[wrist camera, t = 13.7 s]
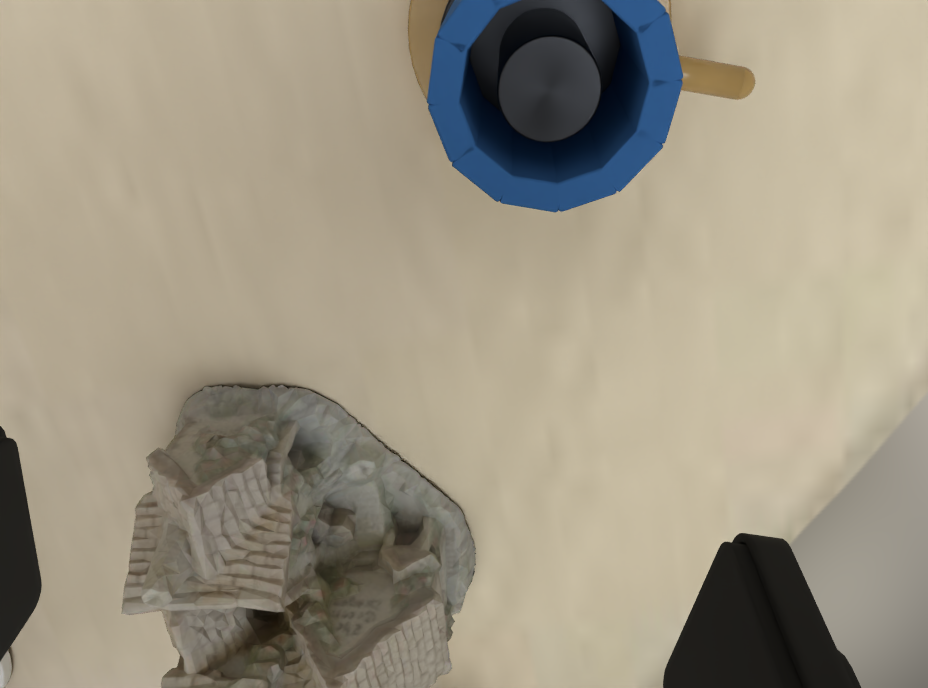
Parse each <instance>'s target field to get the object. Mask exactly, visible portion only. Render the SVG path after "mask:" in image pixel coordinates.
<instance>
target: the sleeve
mask: <svg viewBox="0 0 928 688" xmlns="http://www.w3.org/2000/svg"><path fill="white" fill-rule="evenodd" d="M518 1H520V0H455V1H454V2H453V3H452V5H451V7H450V9H449V11H448V13H447V15H446V17H445V19H444V21H443V23H442V25H441V27H440V29H439V31H438V34H437V36H436V38H435V42H434V49H433V57H432V65H431V73H430V80H429V88H428V96H427V103H428V104H429V105H428V109H429V111H430V114H431V116H432V119H433V121H434V124H435V126H436V129H437V131H438V134H439V136H440V139H441V141H442V144H443V146H444V149H445V151H446V154H447V156H448V159H449V160H450V161H451V162H453V163H452V166H453V167H454V168H455V169H457V170H458V171H459V172H460V173H462V174H463V175H464V176H465V177H467V178H468V179H469V180H470V181H472V182H473V183H474V184H475V185H477V186H478V187H479V188H480V189H482V190H483V191H484V192H485V193H487V194H488V195H489V196H490V197H492V198H493V199H494V200H495V201H497V202H498V201H499V200H500V202H501V203H503V204H509V205H515V206H521V207H527V208H533V209H539V210H545V211H551V212H557V211H558V210H559V211H565V210H568V209H571V208H574V207H577V206H580V205H583V204H586V203H589V202H592V201H595V200H598V199H601V198H604V197H607V196H610V195H613V194H615V193H616V191H619V192H620V191H621V190H622V189H623V188H624V187H625V186H626V185H627V184H628V183H629V182H630V181H631V180H632V179H633V178H634V177H635V176H636V175H637V174H638V172H639V171H640V170H641V169H642V168H643V167H644V166H645V165H646V164H647V163H648V162H649V161H650V160H651V159H652V158H653V157H654V156H655V155H656V154H657V153H658V152H659V151H660V150H661V149H662V148H663V145H662V144H663V143H665V141H666V138H667V135H668V132H669V128H670V125H671V121H672V118H673V115H674V111H675V108H676V105H677V101H678V98H679V94H680V91H681V88H682V84H683V81H682V80H681V79H682V78H683V72H682V68H681V64H680V59H679V55H678V51H677V46H676V42H675V38H674V33H673V29H672V25H671V21H670V16H669V14H668V13H667V12H666V9H665V7H664V6H663V5H662V4H661V3H660V2H659V1H658V0H602V1H603V2H604V3H605V4H606V5H607V6H608V7H609V8H610V9H611V10H612V14H613V18H614V22H615V25H616V29H617V33H618V37H619V40H620V44H621V45H620V49H619V53H618V57H617V61H616V65H615V69H614V73H613V77H612V81H611V84H610V85H609V86H608V88H607V89H606V90H605V91H604V92H603V93H602V95H601V100H600V103H599V106H598V109H597V111H596V113H595V115H594V116H593V118H592V119H591V121H590V122H589V123H588V124H587V125H586V126H585V127H584V128H583V129H582V130H581V131H580V132H578V133H577V134H575V135H573V136H572V137H570V138H567V139H565V140H561V141H558V142H548V143H545V142H537V141H533V140H530V139H527V138H525V137H523V136H522V135H520V134H519V133H517V132H516V131H515V130H514V129H513V128H512V127H511V126H510V125H509V124H508V123H507V121H506V120H505V118H504V117H503V115H502V112H501V111H499V110H498V109H497V108H496V107H495V106H493V105H492V104H491V103H490V102H489V101H488V100H486V99H485V98H484V97H483V96H482V93H481V90H480V87H479V85H478V82H477V79H476V76H475V74H474V71H473V68H472V65H471V62H470V54H471V47H472V44H473V43H474V42H475V40H476V39H477V38H478V36H479V35H480V34H481V33H482V31H483V30H484V29H485V27H486V26H487V25H488V23H489V22H490V21H491V20H492V18H493V17H494V16H495V14H496V13H497V12H498V10H499V9H501V8H503V7H506V6H508V5H511V4H513V3H516V2H518Z"/></svg>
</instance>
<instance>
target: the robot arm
mask: <svg viewBox="0 0 928 688" xmlns="http://www.w3.org/2000/svg"><path fill="white" fill-rule="evenodd" d="M41 586H42V585H41V576H40V571H39V565H38V559H37V554H36V548H35V542H34V537H33V531H32V526H31V520H30V514H29V509H28V503H27V497H26V492H25V486H24V481H23V475H22V469H21V464H20V458H19V452H18V447H17V444H16V442H15V441H14V440H13V439H11V438H7V437H6V434H5V431H4V430H3V429H2V427H1V426H0V688H5V686H6V685H7V683H8V681H9V679H10V676H11V670H12V664H11V658H10V654H9V652H8V649H9V648H10V646H11V645H12V643H13V642H14V640H15V638H16V637H17V635H18V634H19V632H20V631H21V629H22V628H23V626H24V625H25V623H26V622H27V620H28V619H29V617H30V616H31V614H32V613H33V611H34V609H35V607H36V605H37V603H38V600H39V597H40V593H41ZM663 688H861V686H860V684H859V682H858V680H857V678H856V676H855V673H854V671H853V669H852V667H851V665H850V664H849V662H848V661H847V659H846V657H845V656H844V655H843V654H842V653H841V652H840V651H838V650H837V648H836V646H835V644H834V642H833V640H832V637H831V635H830V633H829V631H828V628H827V626H826V624H825V622H824V620H823V617H822V615H821V613H820V611H819V609H818V607H817V604H816V602H815V600H814V598H813V595H812V593H811V591H810V589H809V587H808V585H807V582H806V580H805V578H804V576H803V573H802V571H801V569H800V567H799V565H798V562H797V560H796V558H795V556H794V554H793V552H792V549H791V547H790V546H789V544H788V543H787V542H786V541H785V540H783V539H780V538H773V537H766V536H759V535H752V534H746V533H740V534H738V535H737V536H736V537H735V538H734V540H733V542H732V543H731V542H724V543H722V544H721V546H720V548H719V550H718V552H717V554H716V556H715V558H714V561H713V563H712V565H711V567H710V570H709V572H708V574H707V576H706V579H705V581H704V583H703V585H702V588H701V590H700V592H699V594H698V596H697V599H696V601H695V603H694V605H693V608H692V610H691V612H690V614H689V617H688V619H687V621H686V623H685V626H684V628H683V630H682V632H681V635H680V637H679V639H678V641H677V643H676V646H675V648H674V650H673V652H672V655H671V657H670V659H669V661H668V664H667V666H666V669H665V673H664V681H663Z"/></svg>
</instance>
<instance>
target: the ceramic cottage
mask: <svg viewBox="0 0 928 688" xmlns="http://www.w3.org/2000/svg"><path fill="white" fill-rule="evenodd" d="M176 426H177V428H176V433H175V438H174V439H173V440H172V441H171V442H170V444H169V445H168V447H167V448H166V450H164V449H161V448H157V449H156V450H155V451H153V452H152V453H151V454H150V455H149V456H148V457H146V459H147V462H148V467H149V469H150V470H151V472H150V474H149V476H150V478H151V480H152V483H153V485H154V486H153V491H151V492H149V493H147V494H146V495H144V496H143V497H142V499H141V500H140V501H139V503H138V505H137V506H136V508H135V511H136V519H135V528H134V533H133V538H132V546H131V553H130V561H129V572H128V575H127V578H126V582H125V586H124V595H123V604H122V614H126V615H134V614H141V613H148V612H155V611H162V613H163V616H164V620H165V623H166V627H167V631H168V633H169V634H170V637H171V640H172V644H173V647H175V648H176V649H177V650H178V652H179V654H180V659H179V663H178V666H177V668H172V669H171V670H170V671H168V672H167V673H166V674H165V675H164V676H163V678H162V683H161V688H428V687H430V686H431V685H433V684H434V683H435V682H436V679H437V677H438V676H440V675H443V674H448V673H449V671H450V670H451V669H452V665H451V661H450V658H449V649H448V644H447V642H448V641H449V640H450V638H451V636H452V633H453V632H452V630H451V627H452V625H453V623H454V622H455V621H454V619H453V618H452V615H453V614H456V613H459V612H460V611H461V608H462V605H463V602H464V598H465V594H466V592H467V590H468V587H469V585H470V583H471V582H472V577H473V575H474V572H475V571H474V566H475V565H476V564H475V554H476V553H475V552H474V551H475V547H474V546H473V544H474V542H473V540H472V539H471V534H470V531H469V530H468V526H466V522H465V518H464V515H463V513H462V512H461V510H460V508H459V507H458V506H457V505H456V504H454V503H453V502H452V501H449V498H447V497H446V496H444V495H443V493H442V492H440V491H439V490H437V489H436V488H435V487H433V486H432V484H431V483H428V482H427V481H426V479H425V478H422V477H420V475H419V473H418V472H416V471H415V470H413V469H412V468H411V467H410V466H409V465H407V464H406V463H405V462H403V461H400V460H401V459H400V458H399V456H398V455H396V454H394V453H392V452H390V451H389V450H388V448H387V450H386V448H385V447H384V446H383V444H382V442H378V440H377V439H375V438H374V437H373V436H372V435H371V434H370V432H369V431H368V430H367V429H366V428H365V427H361V424H357V422H356V420H355V418H353V417H351V416H348V413H347V412H346V411H344V410H343V409H342V408H341V407H340V406H339V405H338V404H336V403H334V402H332V401H330V400H328V399H326V398H324V397H322V396H320V395H318V394H316V393H314V392H312V391H310V390H308V389H300V388H297V387H295V388H291V387H290V388H289V389H287V388H286V387H285V386H283V385H280V386H278V387H275V386H274V385H272V386H270V387H269V388H267V387H264V386H263V387H262V388H260V389H258V390H257V389H250V388H244V387H243V388H240V387H239V386H236V385H234V387H233V388H232V387H228V386H224V387H222V385H220V386H215V387H212V388H211V387H204V388H203V391H199V392H197V393H196V394H194V395H192V397H191V398H188V400H187V401H186V403H185V404H184V406H183V409H182V411H181V414H180V416H179V419H178V422H177V425H176Z"/></svg>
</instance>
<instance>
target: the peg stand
mask: <svg viewBox="0 0 928 688" xmlns="http://www.w3.org/2000/svg"><path fill="white" fill-rule="evenodd" d="M454 1H455V0H411V3H410V9H409V20H408V37H409V50H410V55H411V60H412V65H413V68H414V71H415V74H416V77H417V80H418V83H419V85H420V87H421V90H422V92H423V94H424V96H425V98H426V99H427V96H428V88H429V80H430V73H431V65H432V57H433V49H434V42H435V38H436V36H437V34H438V31H439V29H440V27H441V25H442V23H443V21H444V19H445V17H446V15H447V13H448V11H449V9H450V7H451V5H452V3H453V2H454ZM658 1H659V2H660V3H661V4H662V5H663V6H664V7H665V9H666V12H667V13H668V14H669V16H670V21H671V1H670V0H658ZM620 45H621V44H620V40H619V37H618V33H617V29H616V25H615V22H614V18H613V14H612V10H611V9H610V8H609V7H608V6H607V5H606V4H605V3H604V2H603V1H602V0H520V1H518V2H516V3H513V4H511V5H508V6H506V7H503V8H501V9H499V10H498V12H497V13H496V14H495V16H494V17H493V18H492V20H491V21H490V22H489V23H488V25H487V26H486V27H485V29H484V30H483V31H482V33H481V34H480V35H479V36H478V38H477V39H476V40H475V42H474V43H473V44H472V47H471V54H470V62H471V65H472V68H473V71H474V74H475V76H476V79H477V82H478V85H479V87H480V90H481V93H482V96H483V97H484V98H485V99H486V100H488V101H489V102H490V103H491V104H492V105H493V106H495V107H496V108H497V109H498V110H499V111H501V112H502V115H503V117H504V118H505V120H506V121H507V123H508V124H509V125H510V126H511V127H512V128H513V129H514V130H515V131H516V132H517V133H519V134H520V135H522V136H523V137H525V138H527V139H530V140H533V141H537V142H545V143H548V142H558V141H561V140H565V139H567V138H570V137H572V136H573V135H575V134H577V133H578V132H580V131H581V130H582V129H583V128H584V127H585V126H586V125H587V124H588V123H589V122H590V121H591V119H592V118H593V116H594V115H595V113H596V111H597V109H598V106H599V103H600V100H601V95H602V93H603V92H604V91H605V90H606V89H607V88H608V86H609V85H610V84H611V81H612V77H613V73H614V69H615V65H616V61H617V57H618V53H619V49H620ZM679 59H680V64H681V68H682V72H683V78H682V79H681V80H682V81H683V84H682V88H681V90H683V91H689V92H694V93H700V94H706V95H711V96H717V97H723V98H729V99H734V100H738V99H743V98H745V97H747V96H748V95H749V94H750V93H751V92H752V90H753V89H754V86H755V77H754V74H753V73H752V71H751V70H749V69H748V68H746V67H742V66H736V65H731V64H725V63H719V62H714V61H708V60H702V59H697V58H691V57H685V56H680V55H679Z"/></svg>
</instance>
